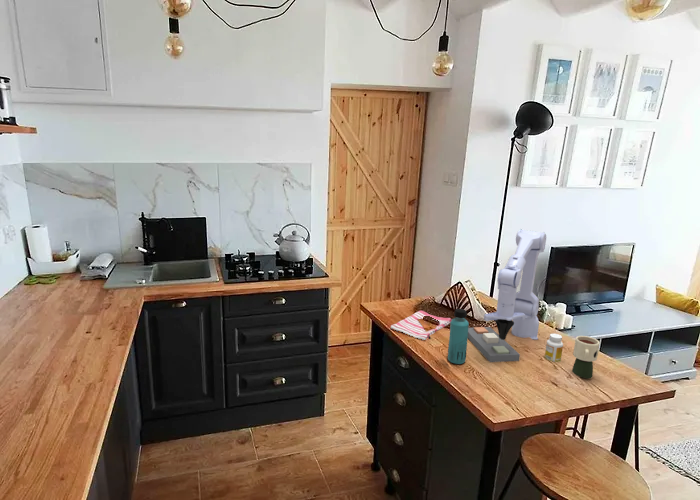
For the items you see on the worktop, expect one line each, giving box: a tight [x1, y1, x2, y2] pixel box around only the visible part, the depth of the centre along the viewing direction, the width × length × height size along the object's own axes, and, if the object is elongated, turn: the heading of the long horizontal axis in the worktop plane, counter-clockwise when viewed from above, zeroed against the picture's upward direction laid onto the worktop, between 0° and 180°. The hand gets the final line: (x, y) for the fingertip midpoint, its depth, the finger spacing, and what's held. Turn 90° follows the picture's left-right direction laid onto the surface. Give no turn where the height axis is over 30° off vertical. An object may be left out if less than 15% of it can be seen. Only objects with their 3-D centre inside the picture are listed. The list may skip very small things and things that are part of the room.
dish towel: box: [390, 309, 453, 341], centre depth 188 cm, size 17×23×4 cm
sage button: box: [493, 346, 509, 354], centre depth 161 cm, size 4×4×3 cm
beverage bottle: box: [447, 308, 470, 365], centre depth 155 cm, size 6×7×20 cm
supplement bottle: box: [544, 333, 564, 363], centre depth 160 cm, size 5×5×10 cm
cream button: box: [483, 333, 499, 343], centre depth 168 cm, size 4×4×3 cm
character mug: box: [571, 335, 601, 379], centre depth 150 cm, size 11×7×13 cm, turn 154°
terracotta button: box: [473, 326, 488, 334], centre depth 177 cm, size 4×4×3 cm
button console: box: [467, 326, 521, 363], centre depth 169 cm, size 11×24×4 cm, turn 8°
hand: (502, 338), depth 159 cm, fingers closed
